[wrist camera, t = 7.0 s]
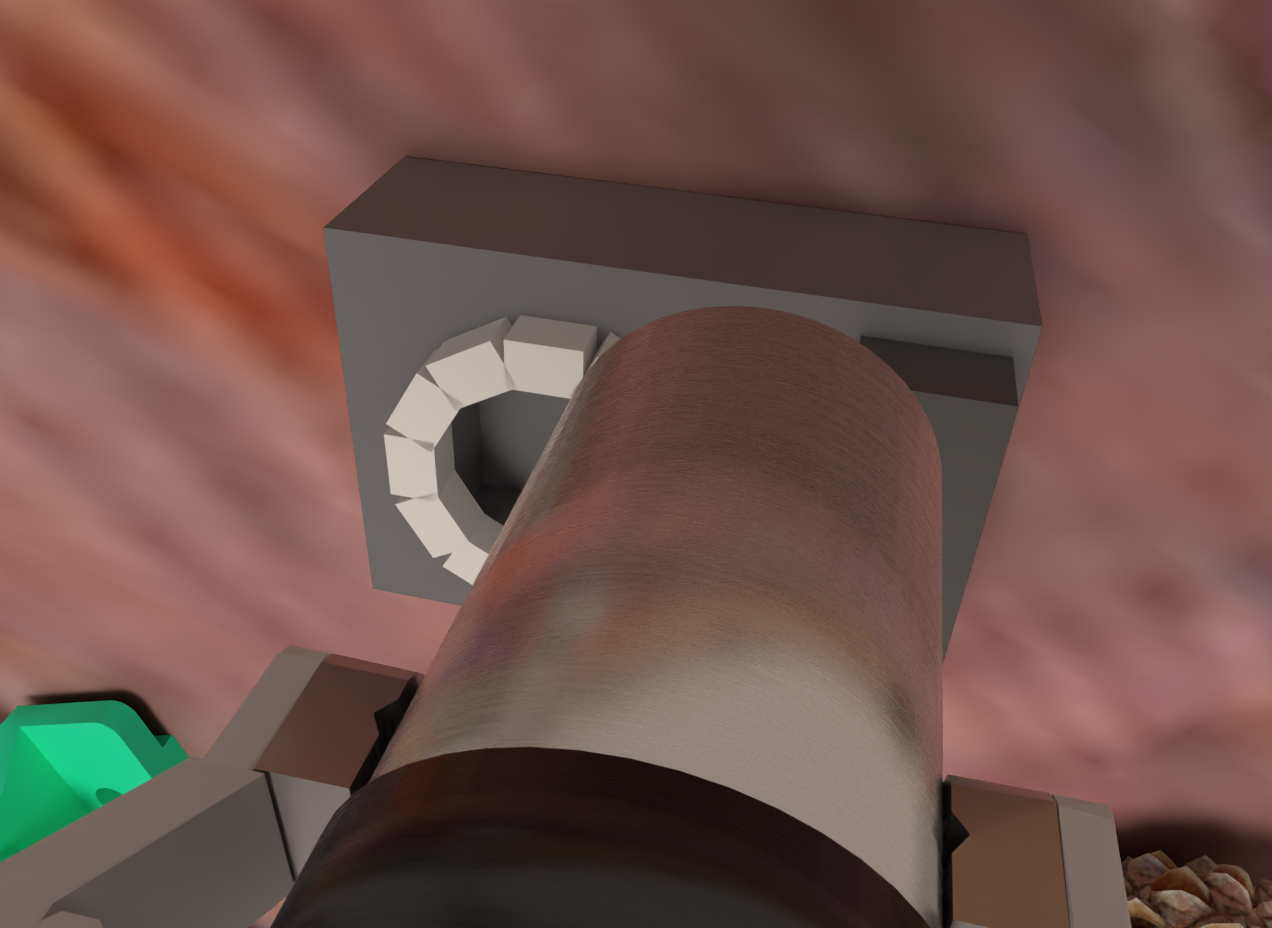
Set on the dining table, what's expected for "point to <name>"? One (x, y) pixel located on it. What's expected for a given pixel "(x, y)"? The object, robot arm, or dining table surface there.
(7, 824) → the camera mount
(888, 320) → the camera body
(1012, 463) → the dining table surface
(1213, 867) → the pine cone
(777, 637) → the lens
